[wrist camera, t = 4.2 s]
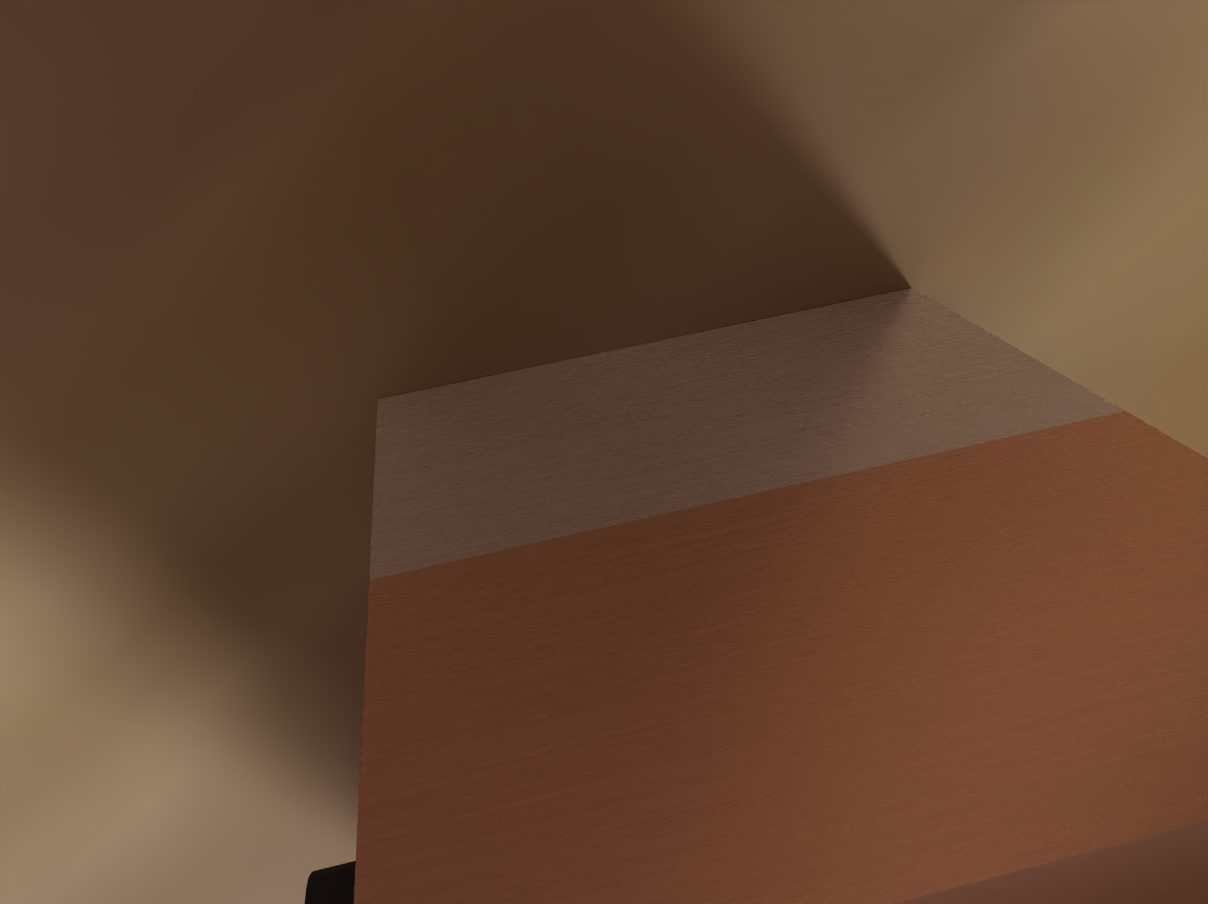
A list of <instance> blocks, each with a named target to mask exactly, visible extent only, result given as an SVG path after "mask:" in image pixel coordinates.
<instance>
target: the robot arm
mask: <svg viewBox="0 0 1208 904" xmlns="http://www.w3.org/2000/svg"><path fill="white" fill-rule="evenodd" d="M355 866H356V861H353V862H349V863H345V864H341V865H337V866H333V867H329V868H325V869H321V870H317V871H313V872H312V873H311V874H310V876H309V878H308V883H307V888H306V897H305V904H354V887H355Z"/></svg>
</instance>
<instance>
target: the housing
mask: <svg viewBox="0 0 1208 904" xmlns="http://www.w3.org/2000/svg"><path fill="white" fill-rule="evenodd" d="M354 904H1208V459H1207V458H1206V457H1204V456H1202V455H1200V454H1199V453H1197V452H1195V451H1194V450H1192V449H1190V448H1188V447H1187V446H1185V445H1183V444H1181V443H1180V442H1178V441H1176V440H1174V439H1173V438H1171V437H1169V436H1168V435H1166V434H1164V433H1162V432H1161V431H1159V430H1157V429H1155V428H1154V427H1152V426H1150V425H1148V424H1147V423H1145V422H1143V421H1142V420H1140V419H1138V418H1136V417H1135V416H1133V415H1131V414H1129V413H1128V412H1126V411H1124V410H1122V409H1121V408H1119V407H1117V406H1116V405H1114V404H1112V403H1110V402H1109V401H1107V400H1105V399H1103V398H1102V397H1100V396H1098V395H1096V394H1095V393H1093V392H1091V391H1090V390H1088V389H1086V388H1084V387H1083V386H1081V385H1079V384H1077V383H1076V382H1074V381H1072V380H1070V379H1069V378H1067V377H1065V376H1064V375H1062V374H1060V373H1058V372H1057V371H1055V370H1053V369H1051V368H1050V367H1048V366H1046V365H1044V364H1043V363H1041V362H1039V361H1038V360H1036V359H1034V358H1032V357H1031V356H1029V355H1027V354H1025V353H1024V352H1022V351H1020V350H1018V349H1017V348H1015V347H1013V346H1012V345H1010V344H1008V343H1006V342H1005V341H1003V340H1001V339H999V338H998V337H996V336H994V335H992V334H991V333H989V332H987V331H986V330H984V329H982V328H980V327H979V326H977V325H975V324H973V323H972V322H970V321H968V320H966V319H965V318H963V317H961V316H960V315H958V314H956V313H954V312H953V311H951V310H949V309H947V308H946V307H944V306H942V305H940V304H939V303H937V302H935V301H934V300H932V299H930V298H928V297H927V296H925V295H923V294H921V293H920V292H918V291H916V290H914V289H913V288H909V289H904V290H899V291H895V292H890V293H885V294H880V295H875V296H871V297H866V298H861V299H856V300H851V301H847V302H842V303H837V304H832V305H827V306H823V307H818V308H813V309H808V310H803V311H799V312H794V313H789V314H784V315H779V316H775V317H770V318H765V319H760V320H755V321H751V322H746V323H741V324H736V325H731V326H727V327H722V328H717V329H712V330H707V331H703V332H698V333H693V334H688V335H683V336H679V337H674V338H669V339H664V340H659V341H655V342H650V343H645V344H640V345H635V346H631V347H626V348H621V349H616V350H611V351H607V352H602V353H597V354H592V355H587V356H583V357H578V358H573V359H568V360H563V361H559V362H554V363H549V364H544V365H539V366H535V367H530V368H525V369H520V370H515V371H511V372H506V373H501V374H496V375H492V376H487V377H482V378H477V379H472V380H468V381H463V382H458V383H453V384H448V385H444V386H439V387H434V388H429V389H424V390H420V391H415V392H410V393H405V394H400V395H396V396H391V397H386V398H381V399H378V403H377V424H376V445H375V466H374V487H373V508H372V529H371V550H370V571H369V592H368V614H367V635H366V656H365V677H364V698H363V719H362V740H361V761H360V782H359V803H358V824H357V845H356V866H355V887H354Z"/></svg>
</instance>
